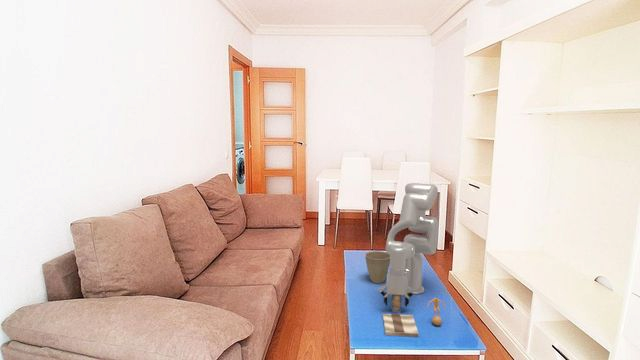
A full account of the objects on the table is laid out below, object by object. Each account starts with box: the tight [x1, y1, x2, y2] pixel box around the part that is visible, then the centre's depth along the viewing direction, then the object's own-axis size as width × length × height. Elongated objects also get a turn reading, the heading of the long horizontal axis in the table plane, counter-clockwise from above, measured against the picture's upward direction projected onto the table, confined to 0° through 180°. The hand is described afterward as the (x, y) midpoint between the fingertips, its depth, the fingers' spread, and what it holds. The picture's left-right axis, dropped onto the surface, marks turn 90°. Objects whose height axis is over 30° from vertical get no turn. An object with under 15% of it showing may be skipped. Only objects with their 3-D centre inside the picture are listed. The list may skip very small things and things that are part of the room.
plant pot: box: [364, 250, 390, 284], centre depth 213 cm, size 15×15×16 cm
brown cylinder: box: [391, 295, 402, 314], centre depth 177 cm, size 4×4×9 cm
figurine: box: [427, 297, 446, 326], centre depth 165 cm, size 8×6×12 cm
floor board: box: [382, 313, 420, 338], centre depth 164 cm, size 16×14×2 cm
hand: (396, 304), depth 177 cm, fingers open, 9 cm apart
